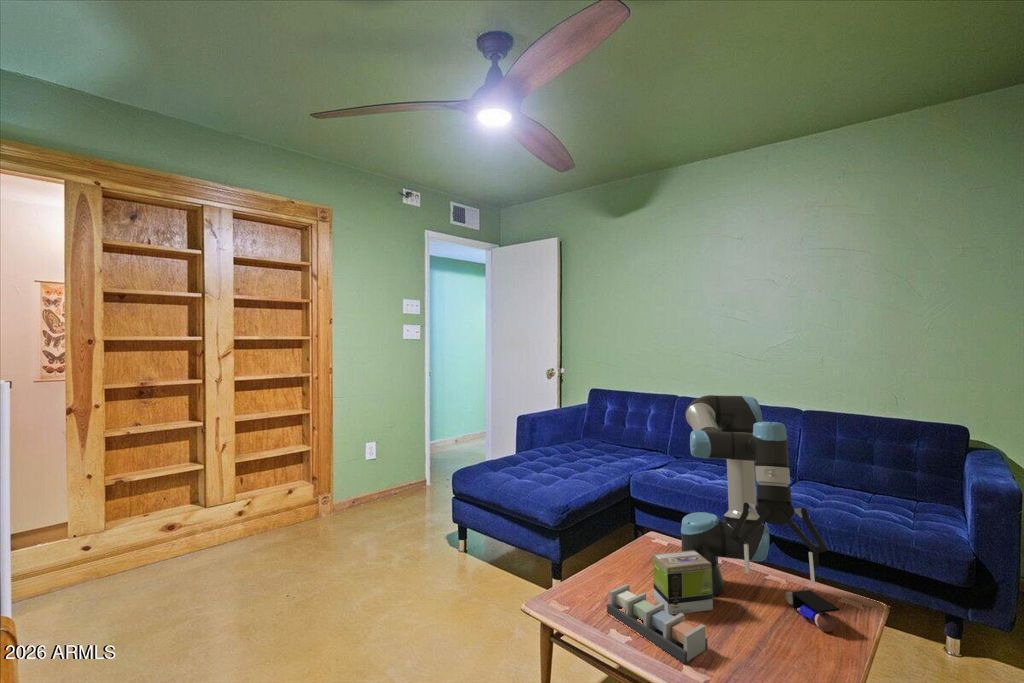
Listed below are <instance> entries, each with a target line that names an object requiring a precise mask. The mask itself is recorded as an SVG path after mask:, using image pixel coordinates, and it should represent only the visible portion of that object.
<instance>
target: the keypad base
mask: <svg viewBox="0 0 1024 683" xmlns="http://www.w3.org/2000/svg"><path fill="white" fill-rule="evenodd" d="M630 587H631V585H630V584H629V583H625V584H623V585H620V586H618V587H615V588H614V589H611V590H609V592H608V598H609V599H608V604H606V614H607V613H608V614H610V615H612V616H614V617H615V618H616V619H618V620H619V621H621V622H623V623H624V624H625V625H627V626H628V627H630V628H631V629H633V630H635V631H636V632H638V633H639V634H640V635H642V636H643V637H645V638H646V639H648V640H649V641H651V642H652V643H654V644H655V645H656V646H658V647H659V648H661V649H662V650H661V649H660V650H661V651H663V652H664V651H665V652H664V653H666V652H667V653H668V654H667V653H666V654H667V655H669V654H670V655H671V656H670V655H669V656H670V657H672V658H673V657H674V659H675V658H676V659H675V660H677V661H678V660H679V662H680V663H681V662H682V663H681V664H683V665H684V664H685V665H687V664H688V663H690V662H691V661H693V660H694V659H696V658H698V657H699V656H701V655H702V654H703V653H705V652H707V651H708V638H707V637H706V625H704V624H703V623H701V624H700V625H698V626H696V627H693V628H694V629H693V630H691V631H689V632H687V633H686V634H684V644H682V643H680V642H679V641H677V640H675V639H674V638H672V626H674V625H676V624H678V623H680V622H681V621H683V622H685V613H680V614H675V616H674V615H673V616H674V617H673V618H671V619H669V620H667V621H665V622H663V632H662V631H660V630H659V629H657V628H655V627H654V626H652V615H653V614H655V613H657V612H659V611H661V610H663V611H665V610H664V603H662V602H661V603H659V604H658V603H657V604H655V605H654V606H653V607H651V608H649V609H647V610H645V611H643V620H641V618H640V619H639V617H637V616H636V615H634V614H633V604H636V603H638V602H640V601H642V600H645V601H647V593H646V592H641V593H639V594H636V596H634V597H632V598H630V599H628V600H626V601H625V613H624V612H622V611H620V610H619V609H622V607H621V606H619V605H617V604H616V595H617V594H619V593H621V592H623V591H626V590H627V591H629V592H631V589H630ZM637 619H639V620H641V621H642V623H643V624H641V623H640V622H638V621H637ZM646 639H645V640H646ZM649 641H648V642H649ZM652 643H651V644H652ZM655 645H654V646H655ZM656 646H655V647H656ZM658 647H657V648H658ZM659 648H658V649H659Z"/></svg>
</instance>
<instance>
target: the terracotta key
mask: <svg viewBox="0 0 1024 683" xmlns="http://www.w3.org/2000/svg"><path fill="white" fill-rule="evenodd" d="M694 628H695V627H694V626H692V625H689V623H686V622H685V621H684V622H683V621H681V622H680V623H678V624H676V625H674V626H672V638H674V639H675V640H677V641H679V642H680V643H682V644H684V634H686V633H687V632H689V631H691V630H693V629H694Z"/></svg>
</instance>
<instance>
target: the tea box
mask: <svg viewBox="0 0 1024 683" xmlns="http://www.w3.org/2000/svg"><path fill="white" fill-rule="evenodd" d="M652 563H653V564H652V566H653V568H652V572H653V599H654V600H655V601H656V603H657V604H658V603H661V602H662V603H664V611H666V612H667V613H668V614H670V615H672V616H674V615H678V614H680V613H682V614H689V613H690V614H691V613H696V612H697V613H699V612H706V611H707V612H708V611H713V610H714V599H713V598H714V596H713V588H712V563H710V562H709V561H708V560H706V559H705V558H704V557H702V556H701V555H700V554H698V553H697V552H696V551H695V550H692V551H682V550H681V551H673V552H664V553H663V552H662V553H654V554H652Z"/></svg>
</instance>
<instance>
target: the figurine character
mask: <svg viewBox="0 0 1024 683" xmlns="http://www.w3.org/2000/svg"><path fill="white" fill-rule="evenodd" d="M784 597H785V600H786V602H787V603H788V604H789V605H792V608H793V611H795V612H796V613H798V615H799V614H800V615H801V616H802V617H805V618H808V619H809V620H811V621H814V623H815V625H816V627H817V628H818V629H820V630H821V631H823V632H825V633H829V632H833V631H834V630H835V628H836V626H837V625H836V620H835V618H834V617H833V616H832V615H831V614H830V613H829V612H838V611H840V608H839V607H837V606H836V605H835V604H833V603H831V602H830V601H828V600H827V599H825V598H823V597H822V596H820V595H818V594H817V593H815V592H813V590H810V589H809V590H806V589H805V590H798V591H786V592H785V593H784Z"/></svg>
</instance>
